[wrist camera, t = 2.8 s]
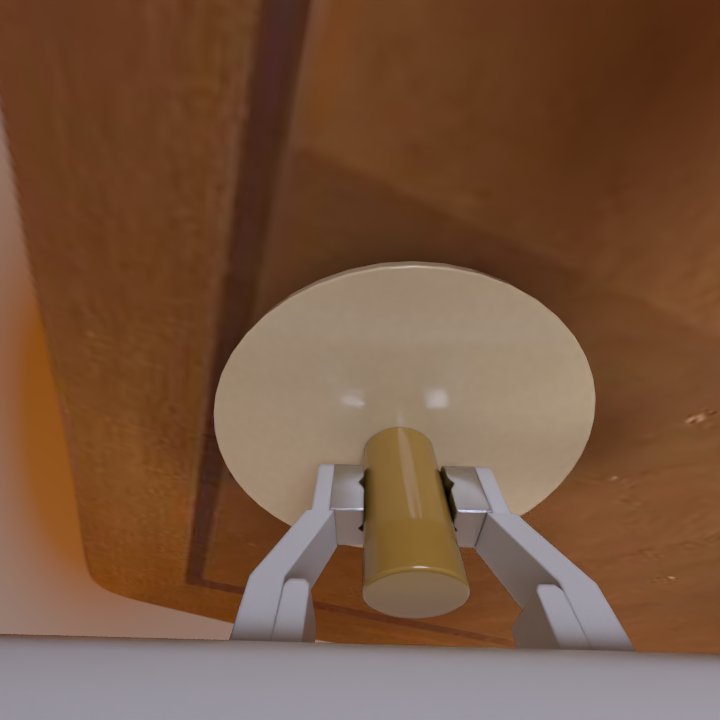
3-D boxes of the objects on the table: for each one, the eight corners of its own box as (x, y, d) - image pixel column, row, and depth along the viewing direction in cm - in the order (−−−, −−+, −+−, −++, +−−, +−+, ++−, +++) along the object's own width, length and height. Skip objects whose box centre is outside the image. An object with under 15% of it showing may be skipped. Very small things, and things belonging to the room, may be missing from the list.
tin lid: (180, 256, 9) (-66, 339, 4) (644, 257, 8) (1040, 347, 3) (259, 523, 15) (209, 679, 11) (518, 528, 15) (591, 691, 10)
